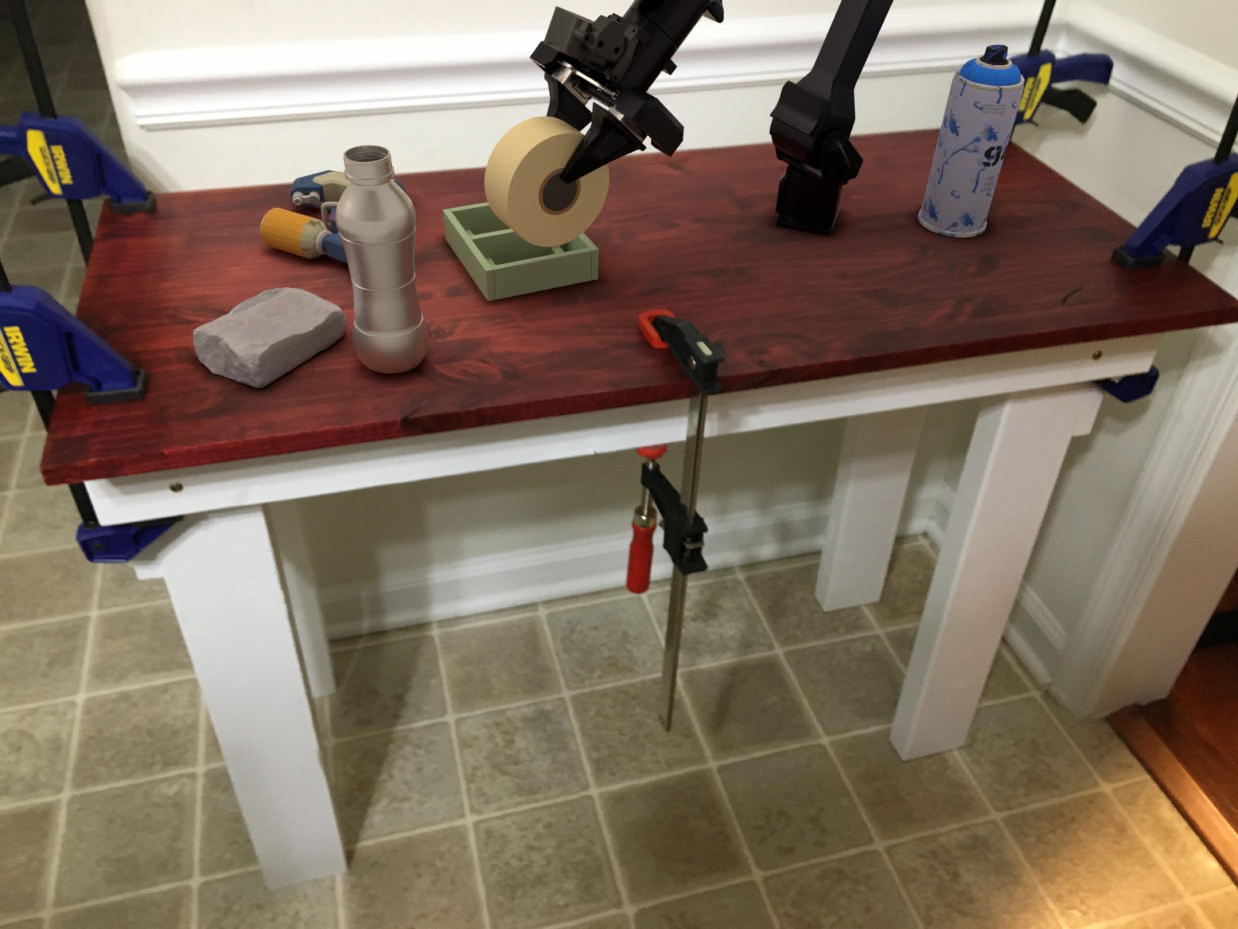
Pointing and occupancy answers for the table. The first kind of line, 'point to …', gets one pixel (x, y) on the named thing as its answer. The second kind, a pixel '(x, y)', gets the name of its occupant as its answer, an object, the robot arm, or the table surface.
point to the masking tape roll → (542, 183)
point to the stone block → (268, 335)
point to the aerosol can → (972, 144)
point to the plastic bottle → (381, 262)
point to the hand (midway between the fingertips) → (549, 171)
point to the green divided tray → (514, 255)
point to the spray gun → (309, 218)
